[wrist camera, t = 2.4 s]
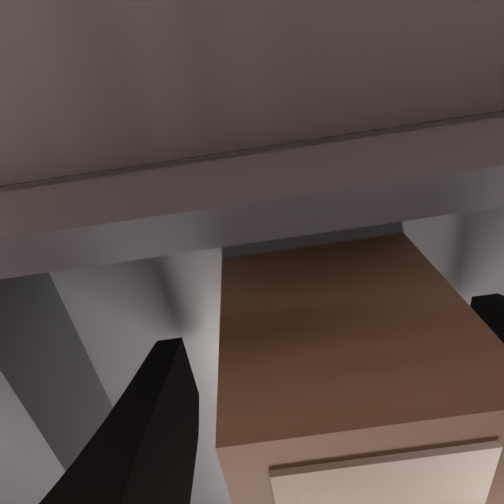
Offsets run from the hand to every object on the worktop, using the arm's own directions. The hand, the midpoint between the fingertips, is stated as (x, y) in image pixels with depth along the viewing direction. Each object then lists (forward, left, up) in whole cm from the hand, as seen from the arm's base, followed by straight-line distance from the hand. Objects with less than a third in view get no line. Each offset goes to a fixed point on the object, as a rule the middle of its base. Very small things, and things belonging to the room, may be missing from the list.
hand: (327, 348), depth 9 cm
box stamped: (0, 0, -1) cm, 1 cm away
